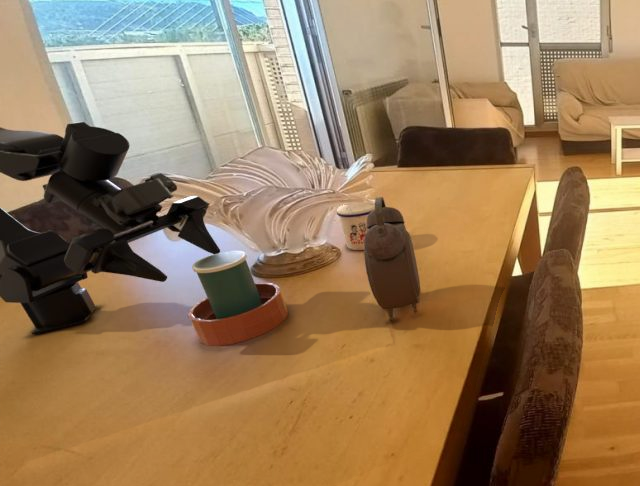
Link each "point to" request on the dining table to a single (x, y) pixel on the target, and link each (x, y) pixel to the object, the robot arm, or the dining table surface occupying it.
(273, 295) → the bowl
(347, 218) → the teacup with lid
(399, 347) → the dining table surface
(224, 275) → the green canister
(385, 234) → the alarm clock
